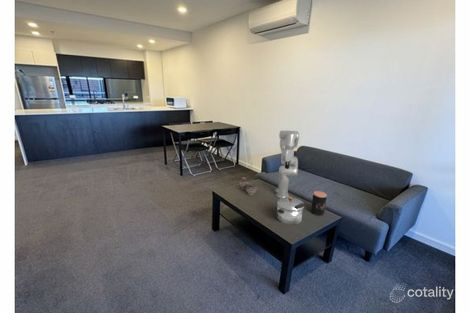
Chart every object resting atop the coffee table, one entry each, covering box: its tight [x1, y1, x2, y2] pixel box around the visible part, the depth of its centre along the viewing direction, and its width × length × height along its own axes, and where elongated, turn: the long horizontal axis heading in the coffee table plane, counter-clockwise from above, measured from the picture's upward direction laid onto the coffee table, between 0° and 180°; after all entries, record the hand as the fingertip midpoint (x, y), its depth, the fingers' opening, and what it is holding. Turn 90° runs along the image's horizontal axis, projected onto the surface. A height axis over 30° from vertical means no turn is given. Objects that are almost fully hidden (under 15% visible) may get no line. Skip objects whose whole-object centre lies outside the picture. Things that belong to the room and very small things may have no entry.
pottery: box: [238, 176, 258, 196], centre depth 228 cm, size 11×25×12 cm, turn 31°
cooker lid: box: [277, 195, 306, 211], centre depth 179 cm, size 21×21×3 cm
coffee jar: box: [310, 190, 328, 216], centre depth 189 cm, size 11×11×18 cm
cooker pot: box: [276, 201, 304, 226], centre depth 181 cm, size 21×26×12 cm
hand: (286, 168), depth 188 cm, fingers closed
